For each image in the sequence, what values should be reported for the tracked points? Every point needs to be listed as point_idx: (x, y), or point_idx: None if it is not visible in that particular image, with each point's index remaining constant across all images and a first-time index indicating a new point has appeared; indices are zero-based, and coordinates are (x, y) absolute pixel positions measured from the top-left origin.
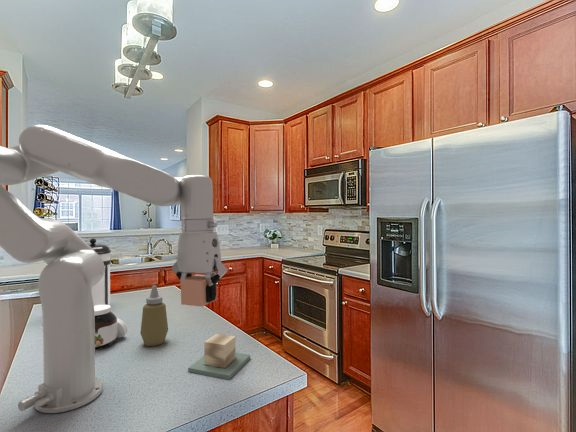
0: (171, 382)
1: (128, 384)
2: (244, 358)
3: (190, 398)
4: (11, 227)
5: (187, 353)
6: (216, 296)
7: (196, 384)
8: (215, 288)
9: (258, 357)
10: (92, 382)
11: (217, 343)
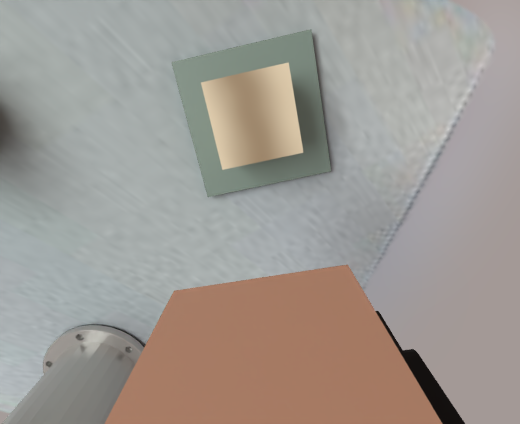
0: (217, 247)
1: (146, 296)
2: (308, 63)
3: (301, 267)
4: None
5: (114, 116)
6: (355, 278)
7: (272, 225)
8: (453, 415)
9: (328, 9)
10: (120, 369)
11: (273, 155)
